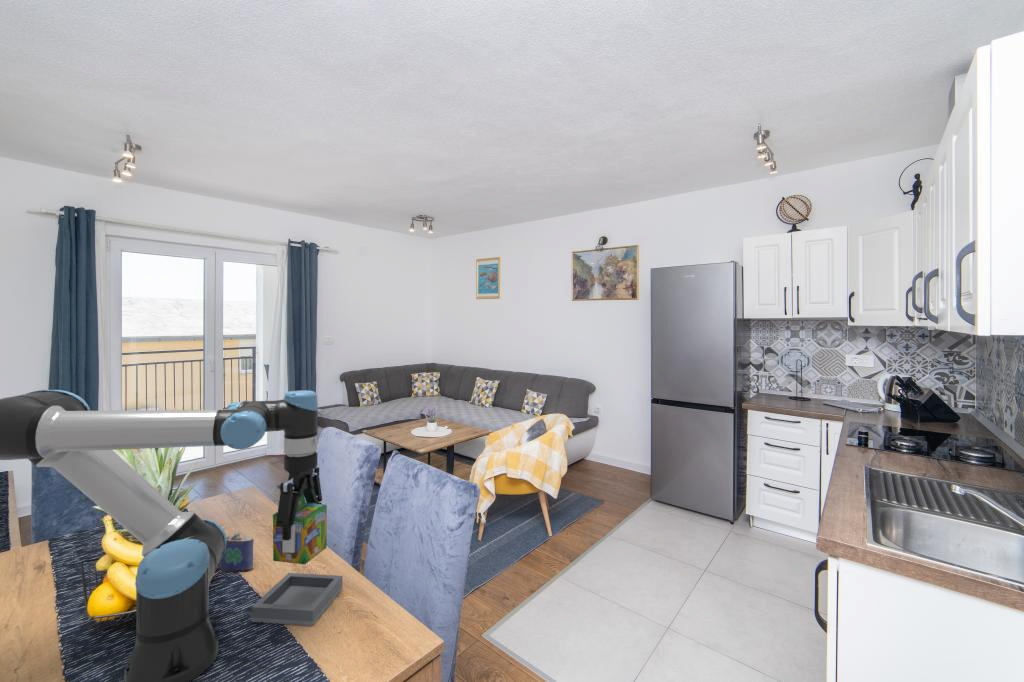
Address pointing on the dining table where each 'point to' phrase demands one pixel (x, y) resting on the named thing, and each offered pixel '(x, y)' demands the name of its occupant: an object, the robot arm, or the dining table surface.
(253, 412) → the robot arm
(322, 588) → the grey square tray
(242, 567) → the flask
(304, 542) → the chalk box
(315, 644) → the dining table surface
